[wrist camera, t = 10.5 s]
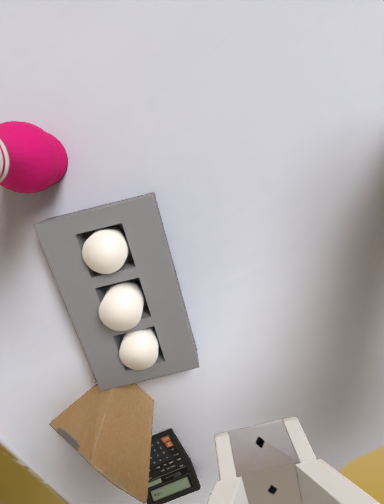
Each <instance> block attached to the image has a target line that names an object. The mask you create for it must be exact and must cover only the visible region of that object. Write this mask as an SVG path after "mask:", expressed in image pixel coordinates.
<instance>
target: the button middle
mask: <svg viewBox="0 0 384 504" xmlns="http://www.w3.org/2000/svg"><path fill="white" fill-rule="evenodd" d="M144 301H145V295H144V292H143V289H142V287H141V286H140V285H139V284H138V283H136V282H135V281H132V280H127V281H123V282H119V283H114V284H111V286H110V287H109V288H108V290H107V292H106V294H105V296H104V298H103V300H102V302H101V304H100V306H99V316H100V319H101V321H102V322H103V323H104V324H105V325H106V326H107V327H108V328H110V329H112V330H116V331H126V330H130V329H132V328H133V327H135V326H136V325H137V324H138V323H139V321H140V319H141V316H142V311H143V306H144Z"/></svg>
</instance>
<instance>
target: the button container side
mask: <svg viewBox="0 0 384 504" xmlns="http://www.w3.org/2000/svg"><path fill="white" fill-rule="evenodd" d="M158 348H159V340H158V336H157V333H156V330H155V327H154V326H153V327H148V328H144V329H140V330H136V331H132V332H128V333H124V336H123V339H122V343H121V346H120V350H119V357H120V359H121V361H122V363H123V364H124V365H125V366H127V367H129V368H131V369H134V370H143V369H147V368H149V367H151V366H152V365H153V364H154V363H155V362H156V360H157V357H158Z"/></svg>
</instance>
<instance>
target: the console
mask: <svg viewBox="0 0 384 504" xmlns="http://www.w3.org/2000/svg"><path fill="white" fill-rule="evenodd" d="M112 225H114V226H118V227H120V228H122V229H123V230H124V231H125V234H126V238H127V241H128V244H129V247H130V252H129V254H128V256H127V258H126V260H125V262H124V264H123V266H122V267H121V268H120V269H119V270H117V271H116V272H113V273H110V274H101V273H98V272H95V271H93V270H92V269H90V268H89V267H88V266H87V264H86V263H85V261H84V259H83V255H82V249H83V245H84V243H85V241H86V240H87V239H88V238H89V237H90V236H91V235H92V234H93V233H95V232H96V231H97V230H98V229H100V228H104V227H108V226H112ZM33 226H34V229H35V231H36V234H37V236H38V239H39V241H40V243H41V246H42V248H43V251H44V253H45V256H46V258H47V261H48V263H49V266H50V268H51V271H52V273H53V275H54V278H55V280H56V283H57V285H58V288H59V290H60V293H61V295H62V298H63V300H64V302H65V305H66V307H67V310H68V312H69V315H70V317H71V320H72V322H73V325H74V327H75V330H76V332H77V334H78V337H79V339H80V342H81V344H82V347H83V349H84V352H85V354H86V357H87V359H88V361H89V364H90V366H91V369H92V371H93V374H94V376H95V379H96V381H97V384H98V386H99V388H100V391H103V390H107V389H111V388H115V387H120V386H124V385H128V384H132V383H136V382H140V381H144V380H149V379H153V378H157V377H161V376H165V375H169V374H173V373H178V372H182V371H186V370H190V369H194V368H198V367H199V363H198V355H197V348H196V345H195V341H194V337H193V334H192V330H191V326H190V323H189V319H188V315H187V312H186V308H185V304H184V301H183V297H182V293H181V290H180V286H179V282H178V279H177V275H176V271H175V268H174V264H173V260H172V257H171V253H170V249H169V246H168V242H167V238H166V234H165V231H164V227H163V223H162V220H161V216H160V212H159V209H158V205H157V201H156V198H155V194H154V193H150V194H145V195H141V196H137V197H133V198H129V199H125V200H121V201H117V202H113V203H109V204H105V205H101V206H97V207H93V208H89V209H85V210H81V211H77V212H73V213H69V214H65V215H61V216H57V217H53V218H49V219H46V220H44V221H41V222H39V223H37V224H35V225H33ZM127 280H132V281H135V282H136V283H138V284H139V285H140V286H141V287H142V289H143V292H144V295H145V301H144V306H143V311H142V316H141V319H140V321H139V323H138V324H137V325H136V326H135V327H133V328H132V329H130V330H126V331H116V330H112V329H110V328H108V327H107V326H106V325H105V324H104V323H103V322H102V321H101V319H100V316H99V306H100V304H101V302H102V300H103V298H104V296H105V294H106V292H107V290H108V288H109V287H110V286H111V284H114V283H119V282H123V281H127ZM153 326H154V327H155V330H156V333H157V336H158V340H159V348H158V357H157V360H156V362H155V363H154V364H153V365H152V366H151V367H149V368H147V369H143V370H134V369H131V368H129V367H127V366H125V365H124V364H123V363H122V361H121V359H120V357H119V350H120V346H121V343H122V339H123V336H124V333H128V332H132V331H136V330H140V329H144V328H148V327H153Z"/></svg>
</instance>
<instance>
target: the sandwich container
mask: <svg viewBox="0 0 384 504" xmlns="http://www.w3.org/2000/svg"><path fill="white" fill-rule="evenodd" d="M153 404H154V400H153V399H152V398H151V397H150V396H148V395H147V394H146V393H145V392H144V391H143V390H141V389H140V388H139V387H138V386H137V385H136V384H134V383H132V384H128V385H124V386H120V387H115V388H111V389H107V390H103V391H100V388H99V386H98V384H97V385H95V386H94V387H93V388H91V389H90V390H89V391H87V392H86V393H85V394H84V395H83V396H82V397H80V398H79V399H78V400H77V401H76V402H75V403H73V404H72V405H71V406H70V407H69V408H67V409H66V410H65V411H64V412H63V413H61V414H60V415H59V416H58V417H57V418H56V419H54V420H53V421H52V422H51V423H50V424H49V425H50V426H51V427H52V428H54V429H55V430H56V431H57V432H58V433H59V434H60V435H61V436H62V437H63V438H64V439H65V440H66V441H67V442H68V443H69V444H71V445H72V446H73V447H74V448H75V449H76V450H77V451H78V452H79V454H80V455H81V456H82V457H83V458H84V459H85V460H86V461H87V462H88V463H89V464H90V465H91V466H92V467H93V468H94V469H96V470H97V471H98V472H99V473H100V474H102V475H103V476H104V477H105V478H106V479H108V480H109V481H110V482H111V483H113V484H114V485H115V486H117V487H118V488H120V489H121V490H123V491H125V492H126V493H128V494H130V495H131V496H133V497H134V498H136V499H138V500H139V501H141V502H143V503H145V502H146V501H147V495H148V480H149V465H150V451H151V436H152V421H153Z"/></svg>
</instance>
